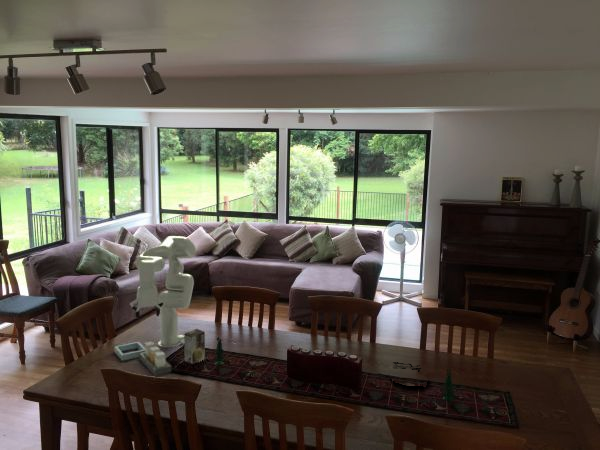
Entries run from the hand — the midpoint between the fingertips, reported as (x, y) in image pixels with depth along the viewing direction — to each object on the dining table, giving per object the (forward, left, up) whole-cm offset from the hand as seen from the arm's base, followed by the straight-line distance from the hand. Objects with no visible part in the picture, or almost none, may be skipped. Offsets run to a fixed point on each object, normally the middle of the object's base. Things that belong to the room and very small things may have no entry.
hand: (147, 317), depth 255 cm
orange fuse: (-2, +2, -26) cm, 26 cm away
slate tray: (+4, -18, -27) cm, 33 cm away
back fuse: (-2, -5, -26) cm, 26 cm away
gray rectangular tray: (-2, +2, -27) cm, 27 cm away
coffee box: (-22, +7, -27) cm, 36 cm away
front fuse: (-2, +10, -26) cm, 27 cm away
